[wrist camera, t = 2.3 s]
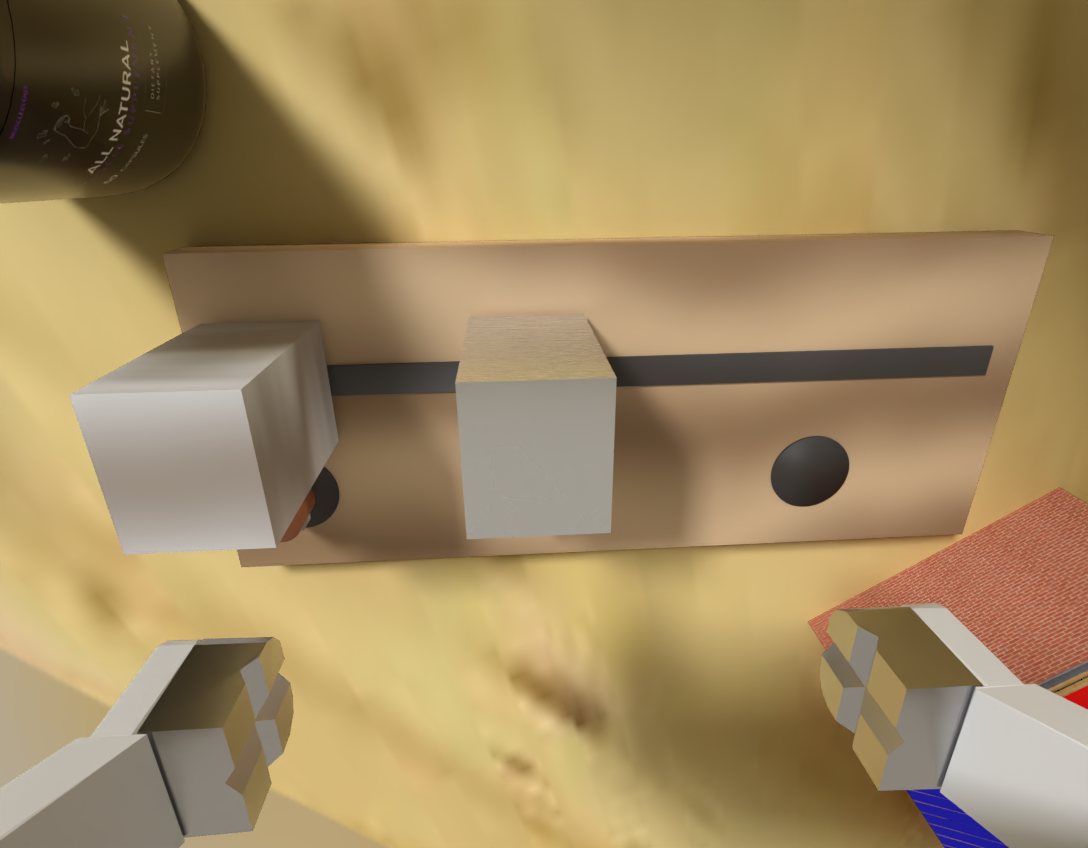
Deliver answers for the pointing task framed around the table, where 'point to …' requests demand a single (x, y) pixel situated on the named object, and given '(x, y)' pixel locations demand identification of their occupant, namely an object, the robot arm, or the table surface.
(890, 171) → the table surface
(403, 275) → the board
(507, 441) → the block
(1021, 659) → the house
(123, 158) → the supplement bottle
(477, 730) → the table surface
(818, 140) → the table surface
